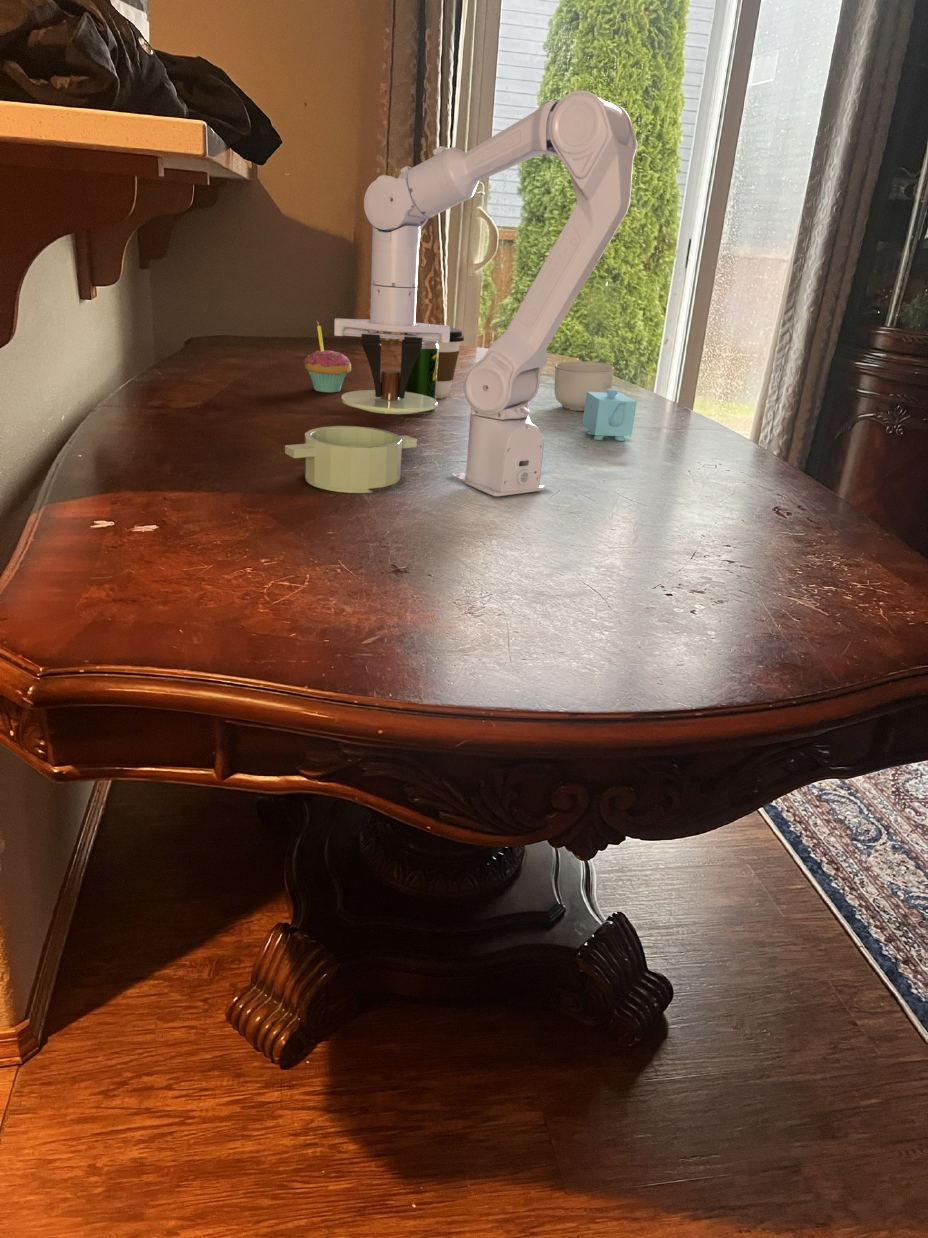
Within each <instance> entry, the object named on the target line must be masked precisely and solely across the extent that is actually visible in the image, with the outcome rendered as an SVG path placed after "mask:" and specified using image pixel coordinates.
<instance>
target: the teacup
mask: <svg viewBox="0 0 928 1238" xmlns="http://www.w3.org/2000/svg"><path fill="white" fill-rule="evenodd" d="M614 372H615V367H614V366H613V365H612V364H608V363H603V362H598V361H597V362H596V361H584V360H582V361H581V360H570V361H561V362H558V363H555V364H554V396H555V399H556V401H558V403H560V405H561V406H562V407H563V408H564V409H566V410H570V411H577V412H584V409H585V401H586V393H587V392H604V393H607V389H613V380H614Z"/></svg>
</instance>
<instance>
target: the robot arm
mask: <svg viewBox="0 0 928 1238" xmlns="http://www.w3.org/2000/svg"><path fill="white" fill-rule="evenodd" d="M638 147H639V144H638V140H637V136H636V133H635V130H634V127H633V122H632V119H631V116H630V115H629V114H628V112H627V110H626V109H625V108H623V107H622V106H621V105H619V104H617V103H614V102H609V101H608V100H607V101H606V100H605V99H602V98H600V97H599V96H598V95H597V94H595V93H593V92H591V91H588V90H583V89H582V90H581V89H580V90H579V89H578V90H574V91H571V92H568V93H567V94H566V95H564V96H563V97H561V98H560V99H559V100H558V99H555V100H551V101H548V102H545V103H543V104H542V105H541V106H540V107H539V108H537V109H536V110H535V111H533V112H532V113H530V114H528V115H526V116H525V117H523V118H521V119H520V120H518V121H516V122H515V123H513V124H511V125H509V126H508V127H506V128H505V129H503V130H501V131H499V132H498V133H496V134H494V135H493V136H491V137H489V138H488V139H486V140H484V141H483V142H480V143H479V144H477V145H476V146H475V147H473V148H471V149H469V150H468V151H466V152H465V151H463V150H462V149H460V148H458V147H454V146H450V147H449V148H448V147H447V146H443V145H439V146H438V147H436V148H434V149H432V153H433V156H432V157H430V158H428V159H426V160H424V161H422V162H420V163H419V164H417V165H415V166H413V167H412V166H408V165H405V166H404V167H402V168H401V169H400V174H399V175H398V176H397V177H394V176H391V175H386V174H384V175H383V174H382V175H379V176H378V177H377V178H376V179H375V180H374V181H372V182H371V183H370V185H369V186H368V187H367V189H366V191H365V193H364V198H363V210H364V214H365V216H366V218H367V220H368V222H369V223H370V224H371V226H372V230H371V231H372V232H371V234H372V235H371V268H370V269H371V270H370V272H371V273H370V275H371V276H370V307H369V308H370V311H369V313H370V315H369V319H368V318H367V319H365V318H363V319H362V318H361V319H360V318H334V321H333V322H334V323H333V325H334V327H333V328H334V333H333V334H334V337H345V336H346V337H359V338H360V337H361V346H362V349H363V351H364V353H365V355H366V359H367V362H368V365H369V368H370V371H371V375H372V380H373V385H374V390H375V397H381V360H382V339H392V340H393V339H394V340H401V349H400V350H401V352H400V371H399V372H400V383H399V398H404V396H405V390H406V385H407V382H408V379H409V376H410V373H411V370H412V368H413V366H414V363H415V361H416V359H417V357H418V355H419V353H420V351H421V349H422V341H438V342H442V343H449V340H450V328H451V327H450V325H445V324H433V323H425V322H424V323H423V322H416V314H417V295H418V294H417V293H418V275H419V274H418V272H419V253H420V251H419V250H420V242H421V233H422V230H423V228H424V226H426V224H427V222H428V220H429V219H431V218H432V217H435V216H438V215H439V214H441V213H442V212H446V211H447V210H449V209H451V208H454V207H456V206H458V205H459V204H462V203H464V202H466V201H468V200H470V199H472V198H473V197H474V195H475V193H476V190H477V187H478V184H479V182H480V181H482V180H484V179H487V178H490V177H491V176H494V175H496V174H498V173H501V172H504V171H506V170H508V169H510V168H512V167H515V166H517V165H520V164H521V163H524V162H526V161H528V160H531V159H533V158H536V157H538V156H542V155H544V156H553V157H558V158H559V159H560V160H561V162H562V163H563V165H564V166H565V169H566V170H567V171H568V173H569V176H570V180H571V184H572V187H573V188H572V189H573V191H574V195H575V199H576V204H575V206H574V207H573V210H572V212H571V213H570V215H569V217H568V219H567V221H566V223H565V224H564V226H563V228H562V230H561V232H560V233H559V235H558V237H557V239H556V240H555V242H554V244H553V246H552V248H551V250H550V251H549V253H548V255H547V257H546V258H545V260H544V262H543V263H542V266H541V268H540V270H539V271H538V273H537V275H536V276H535V278H534V280H533V282H532V284H531V285H530V288H529V289H528V291H527V292H526V294H525V296H524V298H523V300H522V302H521V304H520V306H519V307H518V309H517V311H516V313H515V314H514V316H513V318H512V319H511V321H510V323H509V325H508V327H507V328H506V330H505V331H504V333H502V334H501V335H500V336H499V337H498V338H497V339H496V340H495V341H493V343H492V344H491V345H489V347H488V349H487V350H486V353H485V354H484V356H483V357H482V358H481V359H480V360H478V361H477V362H475V363H473V364H472V365H471V366H470V367H469V368H468V370H467V371H466V373H465V375H464V378H463V384H462V387H463V389H462V390H463V395H464V398H465V400H466V402H467V404H468V405H469V407H470V416H469V428H468V429H469V431H468V444H467V454H466V455H467V456H466V467H465V468H466V469H465V472H458V473H452V474H451V476H453V477H455V478H457V479H459V480H461V483H463V484H465V485H467V486H470V487H472V488H474V489H476V490H479V491H481V492H483V493H485V494H488V495H490V496H493V497H496V498H497V497H505V496H511V495H512V496H513V495H521V494H526V493H534V492H542V491H544V490H545V485H542V484H541V475H542V466H543V457H544V447H545V441H544V440H545V439H544V435H543V433H542V430H541V429H540V428H539V427H538V426H537V425H535V424H533V422H532V421H531V419H530V406H529V403H530V402H531V401H532V400H533V399H534V398H535V397H536V395H537V393H538V392H539V388H540V383H541V375H542V371H543V369H544V367H545V365H546V364H547V362H548V356H547V355H548V354H547V349H548V347H549V346H550V344H551V342H552V341H553V340H554V337H555V335H556V333H557V332H558V331H559V329H560V327H561V325H562V324H563V322H564V320H565V318H566V317H567V315H568V313H569V311H570V310H571V308H572V307H573V305H574V304H575V301H576V300H577V298H578V297H579V295H580V293H581V291H582V290H583V288H584V286H585V284H586V283H587V281H588V279H589V278H590V275H592V273H593V271H594V270H595V268H596V266H597V264H598V262H599V260H600V259H601V257H602V256H603V254H604V252H605V251H606V249H607V248H608V245H609V244H610V243H611V240H612V239H613V237H614V236H615V234H616V232H617V230H618V228H619V227H620V225H621V223H622V222H623V220H624V218H625V217H626V215H627V213H628V211H629V208H630V205H631V194H632V193H631V192H632V182H633V181H632V179H633V167H634V158H635V154H636V153H637V149H638ZM378 332H379V333H378ZM380 332H381V333H380ZM382 332H385V333H382ZM396 333H397V334H396ZM399 333H404V334H399ZM405 333H407V334H409V335H405ZM415 335H416V336H415Z"/></svg>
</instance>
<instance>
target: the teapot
mask: <svg viewBox="0 0 928 1238" xmlns="http://www.w3.org/2000/svg"><path fill="white" fill-rule="evenodd" d="M637 403H638V402H637V401H636V400H634V399H633V398H631V397H630V396H628V395H626V394H625V393H621V392H618V390H617V389H614V388H612V389H607V393H604V392H587V393H586V401H585V409H584V411H583V418H582V427H583V428H585V429H586V430H587V432H586V434H587V435H592V436H594V437H593V440H597V441H603V440H604V436H606V437H608V436H609V437H614V439H615V440H616V441H619V442H623V441H625V438H624V437H630V438H631V437H632V436H633V429H634V422H635V416H636V409H637Z"/></svg>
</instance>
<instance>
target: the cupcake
mask: <svg viewBox="0 0 928 1238" xmlns="http://www.w3.org/2000/svg"><path fill="white" fill-rule="evenodd" d="M316 323H317V326H316V328H317V337H318V345H319V350H316V351H314V352H312V353H310V354H308V355H307V357H305V359H304V360H303V365H304V369H305V370H307V372H308V374H309V377H310V379H311V382H312V387H313V389H314V391H316V392H320V393H339V392H340V391H342V390H341V389H342V386H343V384H344V380H345V377H346V376H347V374H349V373H351V371H352V364H351V361H350V359H349V358H348V356H346V355H344V354H343V353H342V352H339V351H334V350H326V349H324V340H323V334H322V333H323V332H322V326H321V325H320V322H319V321H318V320H317V321H316Z"/></svg>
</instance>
